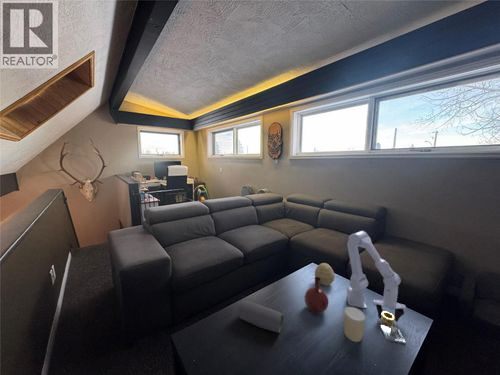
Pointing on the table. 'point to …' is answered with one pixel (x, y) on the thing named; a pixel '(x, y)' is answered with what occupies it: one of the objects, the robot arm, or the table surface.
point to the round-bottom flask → (316, 298)
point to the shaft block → (392, 334)
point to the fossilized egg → (324, 274)
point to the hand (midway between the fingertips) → (387, 318)
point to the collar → (387, 318)
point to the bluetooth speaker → (260, 316)
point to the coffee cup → (354, 323)
